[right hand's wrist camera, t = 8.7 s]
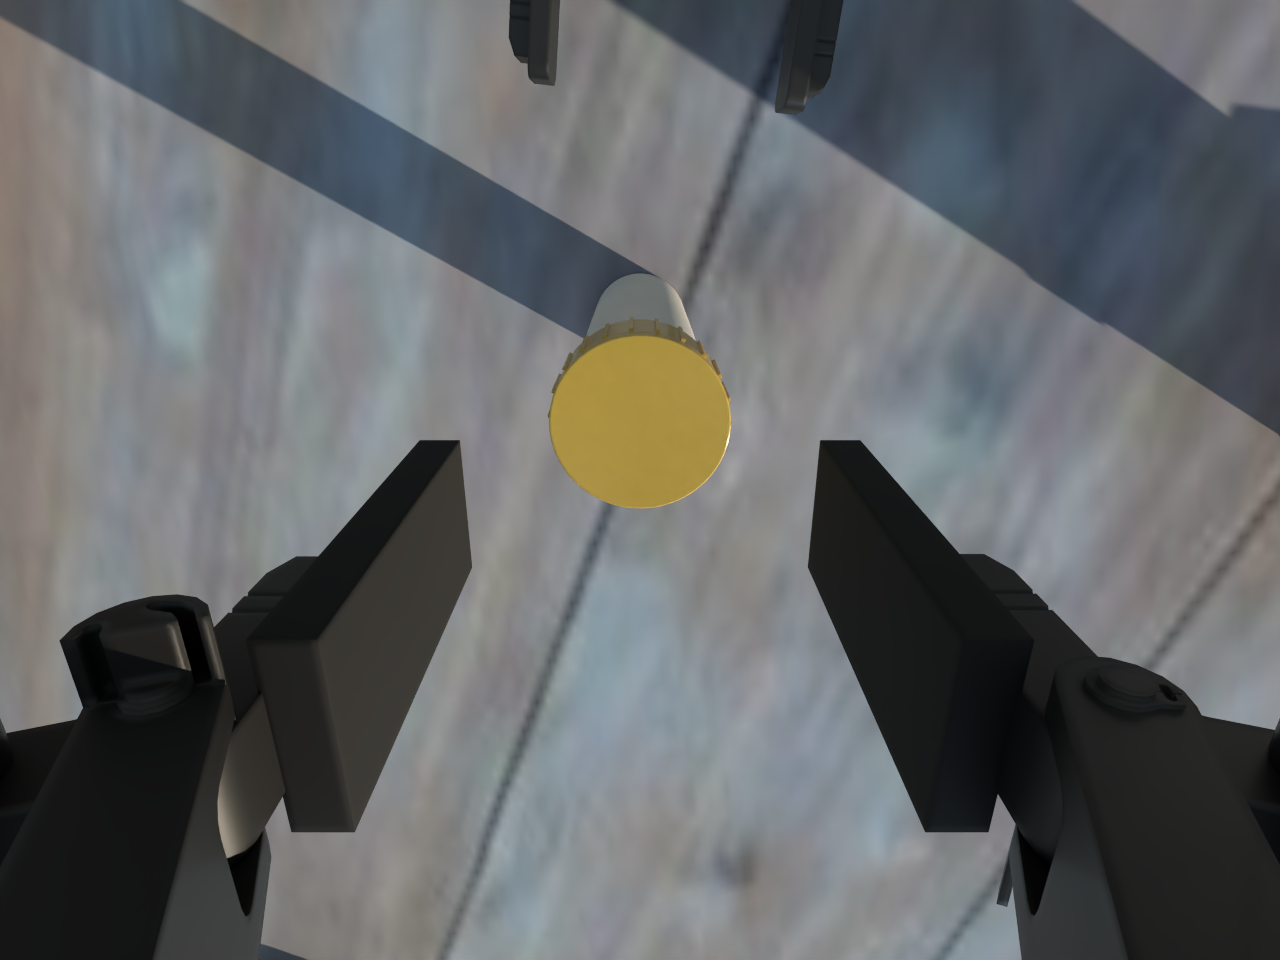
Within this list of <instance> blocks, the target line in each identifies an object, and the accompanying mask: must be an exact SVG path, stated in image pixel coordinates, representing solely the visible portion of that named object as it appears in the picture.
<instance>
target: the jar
mask: <svg viewBox="0 0 1280 960" xmlns="http://www.w3.org/2000/svg"><path fill="white" fill-rule="evenodd" d="M630 317H634V320H653V321H655V318H657V319H659V322H662V323H666V324H669V325H671V326H674V327H676V328H678V327H679V326H680V327H682V329H683V332H685V333H687V334H688V335H689V336H691V337H692V338H693V339H694V340H695V337H694V335H693V332H692V329H691V326H690V324H689V321H688V318H687V315H686V313H685V310H684V307H683V305H682V302H681V299H680V298H679V296H678V294H677V293H676V291H675V290H674V289H673V288H672V287H671V286H670V285H669V284H668V283H667V282H666V281H664V280H662V279H661V278H658V277H656V276H653V275H650V274H643V273H637V274H630V275H627V276H624V277H621V278H619V279H618V280H616V281H614V282H613V283H612V284H611V285H610V286H609V287H608V288H607V289H606V290H605V291H604V293H603V294H602V296H601V297H600V299H599V302H598V304H597V307H596V310H595V313H594V315H593V318H592V321H591V323H590V326H589V329H588V332H587V334H586V335H588V336H591V335H592V334H593V333H595V332H597V331H598V330H600V329H602V328H604V327H605V324H606V323H609V324H610V325H611V324H614V323H618V322H622V321H627V320H630Z"/></svg>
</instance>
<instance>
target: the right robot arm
mask: <svg viewBox="0 0 1280 960" xmlns="http://www.w3.org/2000/svg"><path fill="white" fill-rule="evenodd" d="M471 568H472V561H471V551H470V541H469V530H468V520H467V510H466V500H465V490H464V479H463V469H462V459H461V449H460V440H420V441H419V442H418V443H417V444H416V445H415V446H414V448H413V449H412V450H411V451H410V452H409V453H408V454H407V456H406V457H405V458H404V459H403V460H402V461H401V462H400V464H399V465H398V466H397V467H396V468H395V469H394V471H393V472H392V473H391V474H390V475H389V476H388V477H387V479H386V480H385V481H384V482H383V483H382V484H381V485H380V487H379V488H378V489H377V490H376V491H375V492H374V493H373V495H372V496H371V497H370V498H369V499H368V500H367V501H366V503H365V504H364V505H363V506H362V507H361V508H360V509H359V511H358V512H357V513H356V514H355V515H354V516H353V517H352V519H351V520H350V521H349V522H348V523H347V524H346V525H345V527H344V528H343V529H342V530H341V531H340V532H339V533H338V535H337V536H336V537H335V538H334V539H333V540H332V542H331V543H330V544H329V545H328V546H327V547H326V548H325V550H324V551H323V552H322V553H321V554H320V555H319V556H318V557H295V558H293V559H291V560H289V561H288V562H286V563H284V564H282V565H280V566H279V567H277V568H275V569H273V570H271V571H270V572H268V573H266V574H265V576H264V577H263V578H262V579H261V580H260V581H259V582H258V583H257V584H256V585H255V586H254V587H253V588H252V589H251V590H250V591H249V592H248V596H244V597H243V598H242V599H241V600H240V601H239V602H238V603H237V604H236V605H235V606H234V607H233V609H232V610H233V611H232V613H228V614H227V615H226V616H225V617H224V618H223V619H222V620H221V621H220V622H219V623H218V624H217V625H216V626H215V627H213V623H212V619H211V615H210V611H209V607H208V604H206V603H204V602H203V601H201V600H200V599H198V598H197V597H191V596H184V595H163V596H151V597H147V598H143V599H138V600H134V601H130V602H125V603H122V604H120V605H117V606H114V607H112V608H109V609H106V610H104V611H101V612H99V613H96V614H95V615H93V616H91V617H89V618H88V619H86V620H84V621H82V622H81V623H79V624H77V625H76V626H74V627H73V628H72V629H71V630H70V631H69V632H68V633H67V634H66V635H65V636H64V637H63V638H62V639H61V640H60V643H61V646H62V649H63V652H64V655H65V657H66V660H67V663H68V666H69V669H70V672H71V674H72V677H73V680H74V683H75V686H76V689H77V691H78V694H79V697H80V700H81V703H82V706H83V709H82V711H81V713H80V715H79V717H78V719H76V720H72V721H67V722H62V723H56V724H51V725H46V726H41V727H36V728H31V729H26V730H21V731H16V732H10V733H6V732H5V729H4V727H3V724H2V722H1V719H0V960H258V959H259V951H260V943H261V935H262V927H263V919H264V911H265V903H266V895H267V887H268V879H269V871H270V863H271V852H270V846H269V841H268V837H267V833H266V829H265V826H266V824H267V822H268V820H269V819H270V817H271V815H272V814H273V812H274V810H275V809H276V807H277V805H278V803H279V802H280V800H281V798H282V797H283V799H284V803H285V807H286V811H287V815H288V819H289V824H290V828H291V832H355V830H356V828H357V826H358V824H359V821H360V819H361V817H362V815H363V812H364V810H365V808H366V805H367V803H368V801H369V799H370V796H371V794H372V792H373V790H374V787H375V785H376V783H377V781H378V778H379V776H380V774H381V772H382V769H383V767H384V765H385V763H386V760H387V758H388V756H389V754H390V751H391V749H392V747H393V745H394V742H395V740H396V738H397V736H398V733H399V731H400V729H401V726H402V724H403V722H404V720H405V717H406V715H407V713H408V711H409V708H410V706H411V704H412V702H413V699H414V697H415V695H416V693H417V690H418V688H419V686H420V684H421V681H422V679H423V677H424V675H425V672H426V670H427V668H428V666H429V663H430V661H431V659H432V657H433V654H434V652H435V650H436V647H437V645H438V643H439V641H440V638H441V636H442V634H443V632H444V629H445V627H446V625H447V623H448V620H449V618H450V616H451V614H452V611H453V609H454V607H455V605H456V602H457V600H458V598H459V596H460V593H461V591H462V589H463V587H464V584H465V582H466V580H467V578H468V575H469V573H470V571H471ZM808 568H809V571H810V573H811V575H812V578H813V580H814V582H815V584H816V587H817V589H818V591H819V593H820V596H821V598H822V600H823V602H824V605H825V607H826V609H827V611H828V614H829V616H830V618H831V620H832V623H833V625H834V627H835V629H836V632H837V634H838V636H839V638H840V641H841V643H842V645H843V647H844V650H845V652H846V654H847V657H848V659H849V661H850V663H851V666H852V668H853V670H854V672H855V675H856V677H857V679H858V681H859V684H860V686H861V688H862V690H863V693H864V695H865V697H866V699H867V702H868V704H869V706H870V708H871V711H872V713H873V715H874V717H875V720H876V722H877V724H878V726H879V729H880V731H881V733H882V736H883V738H884V740H885V742H886V745H887V747H888V749H889V751H890V754H891V756H892V758H893V760H894V763H895V765H896V767H897V769H898V772H899V774H900V776H901V778H902V781H903V783H904V785H905V787H906V790H907V792H908V794H909V796H910V799H911V801H912V803H913V805H914V808H915V810H916V812H917V815H918V817H919V819H920V821H921V824H922V826H923V828H924V830H925V832H989V828H990V824H991V819H992V815H993V811H994V807H995V803H996V799H997V794H998V795H999V796H1000V798H1001V800H1002V801H1003V803H1004V805H1005V806H1006V808H1007V810H1008V811H1009V813H1010V815H1011V817H1012V818H1013V820H1014V822H1015V823H1016V825H1015V829H1014V833H1013V837H1012V841H1011V845H1010V848H1009V852H1008V856H1007V860H1006V864H1005V868H1004V872H1003V876H1002V880H1001V883H1000V887H999V893H998V899H997V904H999V905H1003V906H1006V907H1007V905H1008V902H1009V898H1010V894H1011V891H1012V890H1013V893H1014V901H1015V909H1016V917H1017V925H1018V933H1019V941H1020V949H1021V957H1022V960H1280V719H1279V722H1278V724H1277V727H1276V729H1275V730H1272V729H1267V728H1261V727H1256V726H1251V725H1246V724H1241V723H1236V722H1231V721H1226V720H1220V719H1215V718H1210V717H1206V716H1202V715H1201V713H1200V712H1199V710H1198V708H1197V706H1196V705H1195V704H1194V703H1193V701H1192V700H1191V699H1190V698H1189V697H1188V695H1187V694H1186V693H1185V692H1184V691H1183V690H1181V689H1180V688H1179V687H1177V686H1176V685H1174V684H1173V683H1171V682H1170V681H1168V680H1167V679H1165V678H1164V677H1162V676H1160V675H1158V674H1156V673H1154V672H1151V671H1149V670H1147V669H1145V668H1142V667H1140V666H1138V665H1135V664H1131V663H1127V662H1124V661H1120V660H1116V659H1112V658H1105V657H1098V656H1097V655H1096V654H1095V653H1094V652H1093V651H1092V650H1091V649H1090V648H1089V647H1088V646H1087V645H1086V644H1085V643H1084V642H1083V641H1082V640H1081V639H1080V638H1079V637H1078V636H1077V635H1076V634H1075V633H1074V632H1073V631H1072V630H1071V629H1070V628H1069V627H1068V626H1067V625H1066V624H1065V623H1064V622H1063V621H1062V620H1061V619H1060V617H1059V616H1058V615H1057V614H1056V613H1055V612H1054V611H1053V610H1048V605H1047V604H1046V603H1045V602H1044V601H1043V600H1042V599H1041V598H1040V597H1039V596H1038V595H1037V594H1033V592H1032V589H1031V588H1030V587H1029V586H1028V585H1027V584H1026V583H1025V582H1024V581H1023V580H1022V579H1021V578H1020V577H1019V576H1018V575H1017V573H1016V572H1015V571H1013V570H1012V569H1010V568H1008V567H1006V566H1005V565H1003V564H1001V563H999V562H997V561H996V560H994V559H992V558H990V557H988V556H987V555H985V554H959V553H958V552H957V551H956V550H955V548H954V547H953V546H952V545H951V544H950V543H949V542H948V540H947V539H946V538H945V537H944V536H943V535H942V533H941V532H940V531H939V530H938V529H937V528H936V527H935V525H934V524H933V523H932V522H931V521H930V520H929V519H928V517H927V516H926V515H925V514H924V513H923V512H922V511H921V509H920V508H919V507H918V506H917V505H916V504H915V503H914V501H913V500H912V499H911V498H910V497H909V496H908V495H907V493H906V492H905V491H904V490H903V489H902V488H901V487H900V485H899V484H898V483H897V482H896V481H895V480H894V479H893V477H892V476H891V475H890V474H889V473H888V472H887V471H886V469H885V468H884V467H883V466H882V465H881V464H880V462H879V461H878V460H877V459H876V458H875V457H874V456H873V454H872V453H871V452H870V451H869V450H868V449H867V448H866V446H865V445H864V444H863V443H862V442H861V441H860V440H820V449H819V459H818V469H817V479H816V489H815V500H814V510H813V520H812V530H811V541H810V551H809V561H808Z"/></svg>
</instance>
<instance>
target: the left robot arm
mask: <svg viewBox="0 0 1280 960" xmlns="http://www.w3.org/2000/svg"><path fill="white" fill-rule="evenodd" d="M842 4H843V0H791V5H790V11H789V18H788V24H787V31H786V37H785V44H784V50H783V57H782V63H781V70H780V76H779V83H778V90H777V96H776V103H775V112H776V113H784V114H793V115H796V114H798V113H800V112H802V111H803V110H804V107H805V104H806V101H807V97H810V98H812V97H814V96H816V95H818V94H819V93H821V92H822V90H823V88H824V86H825V84H826V83H827V81H828V79H829V77H830V73H831V67H832V61H833V55H834V50H835V42H836V39H837V33H838V27H839V22H840V16H841V10H842ZM559 9H560V0H510V19H509V39H510V43H511V46H512V49H513V52H514V56H515V57H516V58H517V59H518V60H519V61H520V62H521V63H528V76H529V79H530V80H531V81H532V82H533V83H534V84H543V85H551V86H554V85H555V80H556V66H557V47H558V28H559Z"/></svg>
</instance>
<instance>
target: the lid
mask: <svg viewBox="0 0 1280 960" xmlns="http://www.w3.org/2000/svg"><path fill="white" fill-rule="evenodd" d="M562 369H563V373H562V374H559V375H558V378H557V380H556V382H555V384H554V387H553V389H552V393H554V395H553V398H552V402H551V406H550V411H549V413H548V418H549V429H550V436H551V441H552V444H553V448H554V451H555V453H556V455H557V457H558V460H559V462H560V463H561V465H562V466H563V468H564V470H565V471H566V472H567V474H568V475H569V476H570V477H571V478H572V480H573V481H574V482H576V483H577V484H578V485H579V486H580V487H581V488H582V489H584V490H585V491H587V492H588V493H589V494H591V495H593V496H595V497H596V498H598V499H600V500H603V501H605V502H608V503H610V504H614V505H618V506H622V507H629V508H651V507H658V506H662V505H667V504H670V503H672V502H675V501H678V500H680V499H682V498H684V497H685V496H687V495H689V494H690V493H692V492H693V491H695V490H696V489H698V488H699V487H700V486H701V485H702V484H703V483H704V482H706V481H707V479H708V478H709V477H710V476H711V475H712V474H713V472H714V471H715V469H716V468H717V466H718V465H719V463H720V461H721V459H722V457H723V455H724V453H725V450H726V447H727V445H728V441H729V436H730V427H731V424H732V423H731V416H730V407H729V401H730V397H729V394H728V392H727V390H726V387H725V385H724V383H723V382H721V380H720V378H721V377H722V375H721V373H720V370H719V368H718V366H717V363H716V361H715V360H711V358H710V357H709V355H708V354H707V353H706V351H705V350H704V347H703V345H702V342H701V341H700V340H699V341H698V342H697V341H696V340H694V339H693V338H692V337H691V336H689V335H688V334H687V333H685V332H683V329H682V327H680V326H679V327H678V328H676V327H674V326H671V325H669V324H666V323H662V322H659V319H657V318H655V321H653V320H634V317H630V320H627V321H622V322H618V323H614V324H611V325H610V324H609V323H606V324H605V327H604V328H602V329H600V330H598V331H597V332H595V333H593V334H592V335H591V336H588V335H586V336H585V337H584V339H583V342H582V343H581V344H580V345H579V346H578V347H577V349H576V350H575V351H574V353H573V354H572V353H571V352H570V353H569V355H568V357H567V359H566V361H565V364H564V366H563V368H562Z"/></svg>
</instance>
